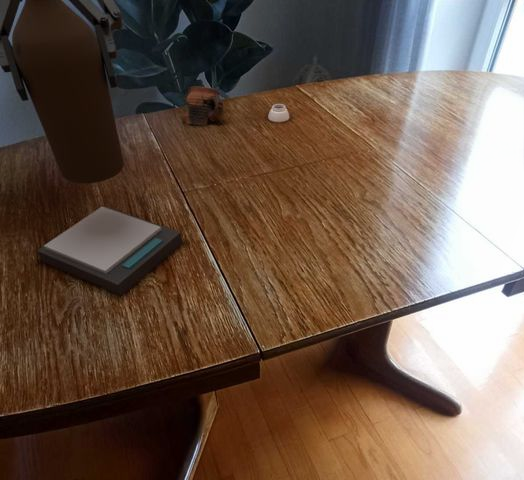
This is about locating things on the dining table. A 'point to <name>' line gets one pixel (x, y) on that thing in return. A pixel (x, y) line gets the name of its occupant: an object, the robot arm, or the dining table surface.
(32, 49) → the olive oil
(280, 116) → the lidless jar
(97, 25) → the robot arm
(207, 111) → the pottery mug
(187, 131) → the dining table surface
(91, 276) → the kitchen scale
